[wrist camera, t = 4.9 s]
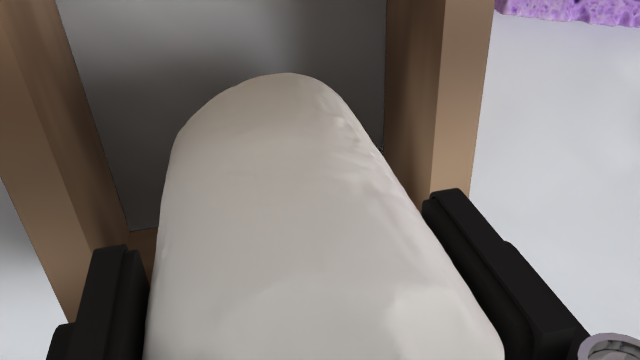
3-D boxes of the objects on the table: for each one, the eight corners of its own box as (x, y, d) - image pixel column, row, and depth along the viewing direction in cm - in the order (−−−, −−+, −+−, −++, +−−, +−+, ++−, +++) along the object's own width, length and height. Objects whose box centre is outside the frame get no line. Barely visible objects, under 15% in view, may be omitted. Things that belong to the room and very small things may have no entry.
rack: (411, 209, 20) (487, 329, 15) (102, 264, 18) (72, 421, 13) (448, -392, 11) (663, -586, 6) (-148, -400, 9) (-528, -686, 4)
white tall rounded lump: (479, 873, 7) (-3, 1029, 4) (306, 270, 17) (131, 225, 14) (874, 665, 4) (294, 773, 2) (400, 111, 14) (209, 29, 12)
